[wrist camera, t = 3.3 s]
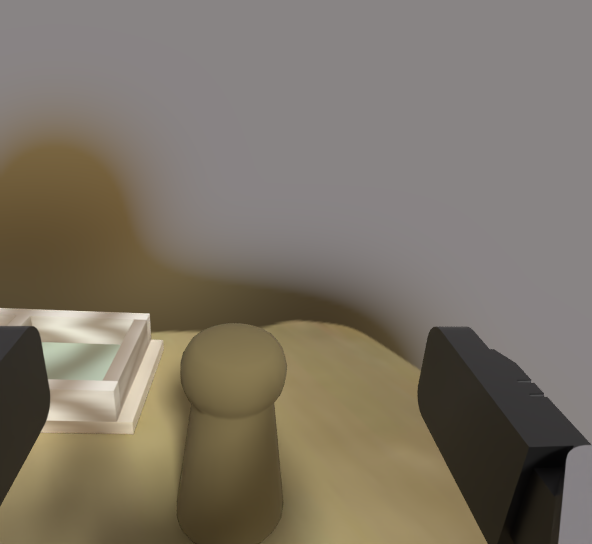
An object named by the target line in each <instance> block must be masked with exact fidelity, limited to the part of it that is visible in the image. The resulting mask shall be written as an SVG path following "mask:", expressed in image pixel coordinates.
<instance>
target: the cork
mask: <svg viewBox="0 0 592 544" xmlns="http://www.w3.org/2000/svg"><path fill="white" fill-rule="evenodd" d="M286 372H287V363H286V358H285V355H284V351H283V348H282V347H281V345H280V343H279V342H278V340H277V339H276V338H275V337H274V336H273V335H272V334H271V333H269V332H267V331H265V330H264V329H261V328H258V327H255V326H252V325H247V324H239V323H229V324H222V325H217V326H213V327H210V328H208V329H205V330H203V331H201V332H200V333H198V334H197V335H196V336H194V337H193V339H192V340H191V341H190V343H189V344H188V346H187V347H186V349H185V351H184V352H183V356H182V360H181V384H182V386H183V389H184V392H185V394H186V396H187V398H188V400H189V401H190V402H191V403H192V404H191V411H190V418H189V424H188V431H187V438H186V445H185V452H184V459H183V465H182V472H181V479H180V486H179V493H178V500H177V518H178V521H179V523H180V526H181V529H182V531H183V532H184V533H185V534H186V535H187V536H188V537H189V538H190V539H191V540H192V541H193V542H194V543H196V544H258V543H260V542H262V541H263V540H264V539H265V538H266V537H267V536H268V535H269V534H271V533H272V532H273V531H274V529H275V527H276V525H277V524H278V522H279V520H280V518H281V514H282V508H283V495H282V484H281V473H280V461H279V450H278V439H277V428H276V417H275V406H274V402H275V401H276V400H277V398H278V397H279V396H280V394H281V392H282V389H283V387H284V383H285V378H286Z"/></svg>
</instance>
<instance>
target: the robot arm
mask: <svg viewBox="0 0 592 544" xmlns="http://www.w3.org/2000/svg"><path fill="white" fill-rule="evenodd" d="M418 404H419V409H420V413H421V415H422V417H423V419H424V421H425V423H426V425H427V427H428V429H429V431H430V433H431V435H432V437H433V439H434V441H435V443H436V445H437V446H438V448H439V450H440V452H441V454H442V456H443V458H444V460H445V462H446V464H447V466H448V468H449V470H450V472H451V474H452V475H453V477H454V479H455V481H456V483H457V485H458V487H459V489H460V491H461V493H462V495H463V497H464V499H465V501H466V503H467V504H468V506H469V508H470V510H471V512H472V514H473V516H474V518H475V520H476V522H477V524H478V526H479V528H480V530H481V532H482V533H483V535H484V537H485V539H486V541H487V543H488V544H592V445H591V444H590V443H589V442H588V441H587V440H586V439H585V438H584V436H583V435H582V434H581V433H580V432H579V431H578V430H577V429H576V428H575V427H574V426H573V424H572V423H571V422H570V421H569V420H568V419H567V418H566V417H565V416H564V415H563V414H562V413H561V411H560V410H559V409H558V408H557V407H556V406H555V405H554V404H553V403H552V402H551V401H550V400H549V398H547V397H544V393H543V392H542V391H541V390H540V389H539V388H538V387H537V385H536V384H535V383H531V379H530V378H529V377H528V376H527V375H526V374H525V373H524V371H523V370H522V369H521V368H520V367H519V366H518V365H517V364H516V363H515V362H513V361H511V360H510V359H508V358H507V357H505V356H503V355H502V354H500V353H499V352H497V351H496V350H494V349H493V350H492V349H489V348H488V347H487V346H486V345H485V343H483V341H482V340H481V339H480V338H479V337H478V335H477V334H476V333H475V332H474V331H473V330H472V329H471V328H469V327H433V328H432V329H431V330H430V332H429V335H428V338H427V343H426V349H425V354H424V359H423V364H422V369H421V374H420V379H419V384H418ZM49 409H50V388H49V382H48V376H47V371H46V365H45V359H44V354H43V348H42V342H41V337H40V333H39V331H38V329H37V328H36V327H34V326H0V506H1V504H2V502H3V500H4V498H5V497H6V495H7V493H8V491H9V489H10V487H11V486H12V484H13V482H14V480H15V478H16V476H17V475H18V473H19V471H20V469H21V467H22V465H23V464H24V462H25V460H26V458H27V456H28V454H29V453H30V451H31V449H32V447H33V445H34V443H35V442H36V440H37V438H38V436H39V434H40V432H41V431H42V429H43V427H44V425H45V423H46V420H47V417H48V414H49Z"/></svg>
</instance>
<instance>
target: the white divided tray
mask: <svg viewBox="0 0 592 544" xmlns="http://www.w3.org/2000/svg"><path fill="white" fill-rule="evenodd" d="M0 326H34V327H36V328H37V329H38V331H39V333H40V337H41V342H42V348H43V354H44V359H45V365H46V371H47V376H48V382H49V388H50V409H49V414H48V417H47V420H46V423H45V425H44V427H43V429H42V431H41V432H44V433H101V434H134V431H135V428H136V425H137V423H138V420H139V417H140V414H141V411H142V409H143V406H144V403H145V400H146V398H147V395H148V392H149V389H150V386H151V384H152V381H153V378H154V375H155V373H156V370H157V367H158V364H159V361H160V359H161V356H162V353H163V350H164V349H163V340H151V330H150V314H141V313H115V312H89V311H62V310H60V311H59V310H34V309H8V308H7V309H6V308H0Z"/></svg>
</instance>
